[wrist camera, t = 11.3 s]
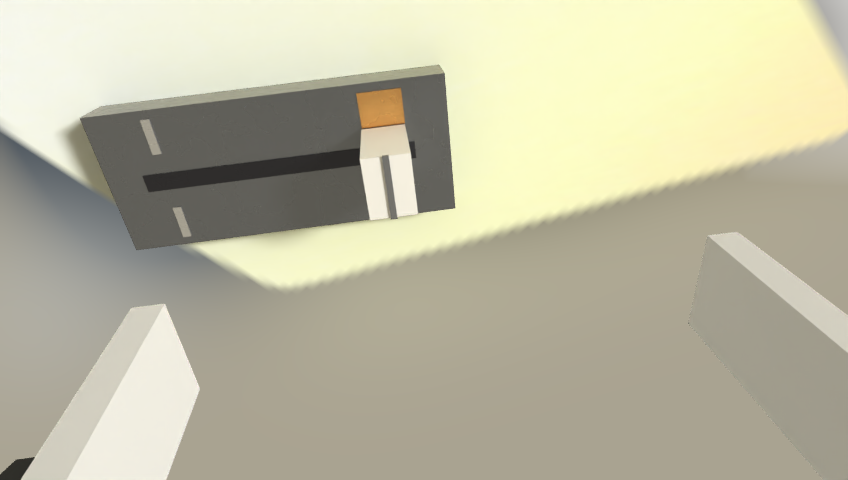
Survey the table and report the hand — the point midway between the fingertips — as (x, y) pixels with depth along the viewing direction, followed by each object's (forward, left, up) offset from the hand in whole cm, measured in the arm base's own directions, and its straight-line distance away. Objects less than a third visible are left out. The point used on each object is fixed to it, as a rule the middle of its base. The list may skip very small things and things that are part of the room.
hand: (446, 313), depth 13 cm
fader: (+4, -1, -25) cm, 25 cm away
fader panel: (+4, -9, -28) cm, 30 cm away
